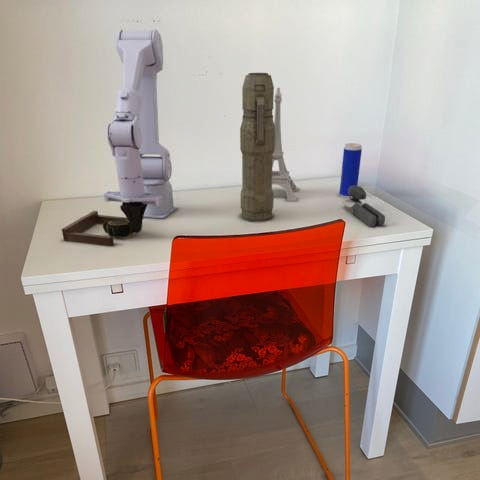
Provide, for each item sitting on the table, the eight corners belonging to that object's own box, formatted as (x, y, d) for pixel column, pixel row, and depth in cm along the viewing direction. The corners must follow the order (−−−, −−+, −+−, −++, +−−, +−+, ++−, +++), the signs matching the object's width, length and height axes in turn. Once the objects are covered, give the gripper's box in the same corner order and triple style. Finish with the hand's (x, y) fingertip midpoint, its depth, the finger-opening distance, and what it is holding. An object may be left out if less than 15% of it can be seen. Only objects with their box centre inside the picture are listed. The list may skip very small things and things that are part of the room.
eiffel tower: (256, 187, 154) (257, 85, 138) (297, 188, 152) (303, 85, 137) (251, 199, 143) (252, 90, 127) (295, 201, 141) (301, 90, 125)
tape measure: (129, 228, 122) (127, 214, 120) (139, 236, 117) (137, 222, 115) (103, 234, 119) (101, 219, 117) (112, 242, 114) (110, 227, 112)
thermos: (246, 225, 124) (246, 75, 105) (236, 211, 133) (234, 72, 115) (278, 222, 125) (283, 74, 107) (266, 208, 135) (269, 71, 117)
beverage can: (343, 192, 148) (348, 142, 140) (358, 195, 145) (365, 144, 138) (336, 196, 145) (341, 145, 137) (351, 199, 142) (357, 147, 134)
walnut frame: (95, 221, 127) (93, 210, 126) (139, 225, 124) (138, 214, 122) (63, 240, 116) (61, 229, 114) (111, 246, 112) (109, 234, 111)
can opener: (338, 205, 137) (340, 183, 133) (354, 204, 138) (357, 182, 134) (368, 228, 121) (371, 204, 118) (386, 226, 122) (390, 202, 119)
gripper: (93, 178, 108) (103, 234, 115) (150, 182, 104) (157, 240, 111) (109, 170, 114) (117, 224, 121) (164, 174, 110) (169, 229, 117)
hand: (137, 231), depth 117 cm, fingers closed
